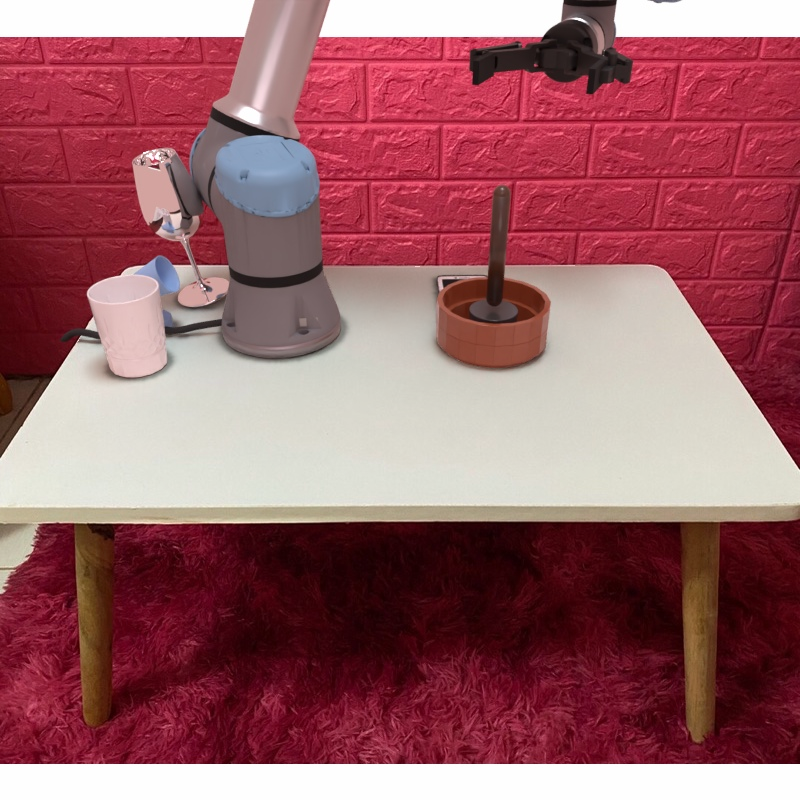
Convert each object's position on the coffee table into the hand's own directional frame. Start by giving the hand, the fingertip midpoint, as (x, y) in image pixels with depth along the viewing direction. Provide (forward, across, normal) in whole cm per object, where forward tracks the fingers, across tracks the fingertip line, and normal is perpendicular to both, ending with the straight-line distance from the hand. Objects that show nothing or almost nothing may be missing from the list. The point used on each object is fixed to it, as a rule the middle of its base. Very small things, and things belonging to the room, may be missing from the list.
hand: (531, 77), depth 89 cm
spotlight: (+23, +41, -30) cm, 56 cm away
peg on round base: (+10, 0, -29) cm, 31 cm away
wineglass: (+12, +41, -30) cm, 52 cm away
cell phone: (-1, +7, -31) cm, 31 cm away
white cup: (+31, +38, -30) cm, 58 cm away
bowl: (+10, 0, -30) cm, 32 cm away
